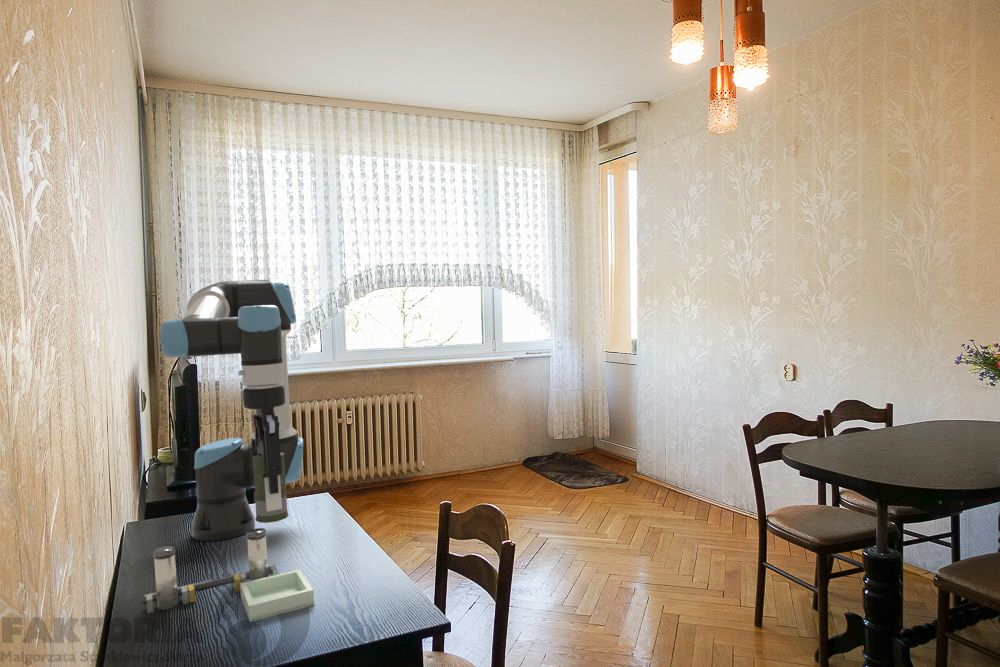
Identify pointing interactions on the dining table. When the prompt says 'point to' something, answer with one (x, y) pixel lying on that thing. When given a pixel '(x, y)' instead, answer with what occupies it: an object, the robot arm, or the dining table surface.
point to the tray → (276, 595)
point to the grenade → (260, 489)
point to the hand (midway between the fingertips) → (270, 505)
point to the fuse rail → (170, 591)
